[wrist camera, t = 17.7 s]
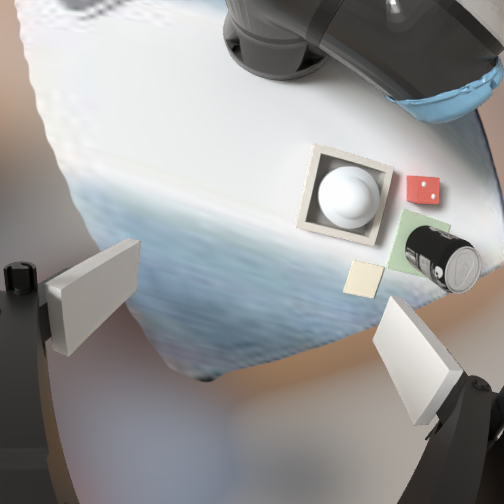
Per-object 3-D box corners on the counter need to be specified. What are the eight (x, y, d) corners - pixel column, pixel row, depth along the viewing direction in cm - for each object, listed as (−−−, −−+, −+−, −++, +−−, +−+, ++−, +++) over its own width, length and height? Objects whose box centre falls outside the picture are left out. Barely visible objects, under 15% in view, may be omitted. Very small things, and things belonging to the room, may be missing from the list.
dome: (324, 160, 36) (332, 158, 31) (378, 175, 36) (393, 176, 31) (310, 217, 38) (316, 224, 33) (364, 230, 38) (377, 239, 33)
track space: (353, 259, 41) (353, 260, 41) (383, 266, 41) (383, 267, 41) (343, 291, 42) (343, 292, 42) (372, 297, 42) (373, 298, 42)
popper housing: (312, 145, 37) (314, 143, 35) (387, 167, 37) (393, 167, 35) (294, 224, 40) (295, 227, 38) (368, 242, 40) (373, 246, 38)
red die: (406, 175, 37) (418, 176, 33) (427, 176, 37) (439, 177, 33) (406, 200, 38) (417, 203, 34) (427, 201, 38) (439, 204, 34)
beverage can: (443, 229, 38) (489, 249, 27) (431, 270, 40) (473, 300, 28) (409, 219, 38) (452, 237, 27) (397, 263, 40) (435, 293, 29)
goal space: (403, 208, 38) (404, 209, 38) (449, 224, 38) (450, 224, 38) (386, 267, 41) (386, 268, 41) (432, 278, 41) (433, 279, 40)
